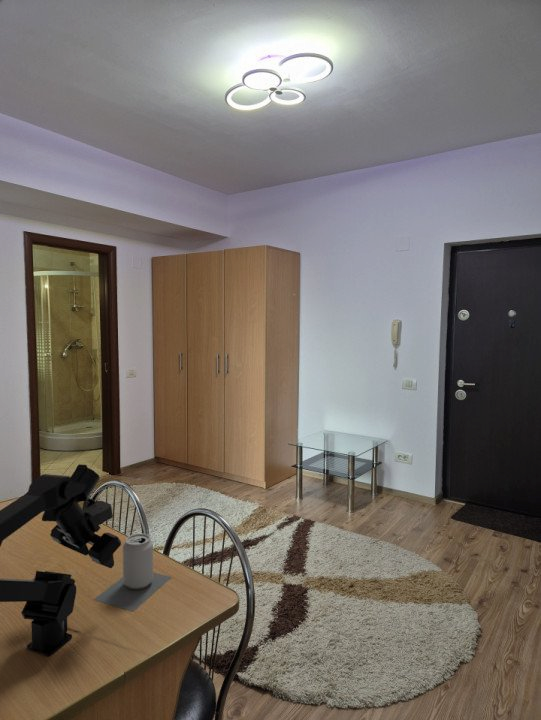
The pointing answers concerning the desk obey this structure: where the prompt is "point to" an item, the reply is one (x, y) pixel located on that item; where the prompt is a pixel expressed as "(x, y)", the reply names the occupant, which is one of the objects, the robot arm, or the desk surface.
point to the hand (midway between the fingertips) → (99, 560)
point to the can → (137, 561)
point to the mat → (131, 593)
